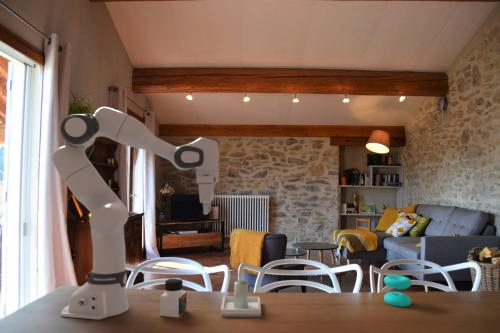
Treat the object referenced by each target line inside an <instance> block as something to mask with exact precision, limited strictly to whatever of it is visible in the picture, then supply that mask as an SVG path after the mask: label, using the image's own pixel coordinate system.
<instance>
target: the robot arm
mask: <svg viewBox="0 0 500 333" xmlns="http://www.w3.org/2000/svg"><path fill="white" fill-rule="evenodd" d="M59 130H60V134H61V136H62V138H63V140H64V141H63V145H62V146H60V147H58V148H57V149H55V151H54V152H53V154H52V155H51V157H52V162H53V164H54V167H55V169H56V171H57V172H58V175H59V176H60V177H61V179H62V181H63V182H64V183H65V185H66V187H68V189H69V190H70V192H71V193H72V194H73V196H74V197H75V198H76V200H77V201H78V202H79V203H81V204H82V205H83V206H84V207H85V208H86V209H87V210H88V211H89V212H90V213H91V214H90V216H89V226H90V235H91V243H92V252H93V253H92V270H90V272H88V273H87V274H86V275H85V280H86V279H87V281H86V282H85V283H84V284H82V286H80V287H79V288H78V289H76V290H75V291H74V292H73V293H72V294H71V296H70V298H69V302H68V305H66V306H65V307H63V308H62V310H61V312H60V315H61V317H64V318H66V317H67V318H75V319H76V318H78V319H88V320H89V319H90V320H103V319H106V318H108V317H113V316H117V315H121V314H123V313H125V312H127V311H128V310H129V309H130V305H129V302H128V296H127V286H126V285H127V279H128V276H127V268H126V241H125V225H126V223H127V222H128V220H129V211H128V208H127V207H126V205H125V204H124V203H123V201H122V200H121V199H120V198H119V197H118V195H117V194H116V193H115V192H114V191H113V190H112V189H111V187H110V186H109V185H108V184H107V183H106V181H105V180H104V179H103V177H102V176H101V175H100V173H99V172H98V170H97V169H96V168H95V166H94V165H93V163H92V162H91V161H90V159H89V158H88V156H87V154H86V153H87V152H88V151H89V150H90V149H91V148H92V147H93V146H94V145H95V143H96V140H97V138H99V137H102V138H103V137H104V138H108V139H110V140H112V141H114V142H117V143H119V144H120V145H124V146H127V147H129V148H130V147H131V148H134V149H141V150H144V151H145V150H146V151H148V152H151V153H153V154H154V155H157V156H158V157H159V156H160V157H161V158H163V159H166V161H169V163H171V165H172V166H173V167H174V168H175V169H177V170H178V171H180V172H181V171H182V172H186V171H190V170H191V169H194V168H195V169H196V181H195V182H196V183H197V184H198V196H199V203H200V204H202V207H203V208H202V209H203V212H202V213H203V215H208V214H209V213H211V211H212V210H211V207H212V202H213V201H214V199H215V190H214V189H215V188H216V183H218V184H219V183H220V182H219V181H220V178H219V175H220V173H219V172H220V171H219V169H220V168H219V161H220V153H219V151H220V150H219V144H218V142H217V140H215V139H213V138H212V137H211V138H210V137H205V136H203V137H202V136H201V137H199V138H197V139H196V140H194V141H192V142H189V143H187V144H183V145H180V146H176V145H173V144H171V143H169V142H167V141H165V140H163V139H161V138H158V137H157V136H155V135H154V134H153V133H152V132H151V131H150V130H149V128H148V127H147V125H146V124H144V123H143V122H141V121H140V120H138V119H137V118H135V117H133V116H132V115H129V114H127V113H125V112H122V111H120V110H117V109H114V108H112V107H108V106H102V107H99V108H98V109H96V110H95V111H94V113H93V114H91V113H82V114H81V113H75V114H74V113H73V114H69V115H67V116H66V117H65V118H64V119H62V122H61V123H60V129H59Z"/></svg>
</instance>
